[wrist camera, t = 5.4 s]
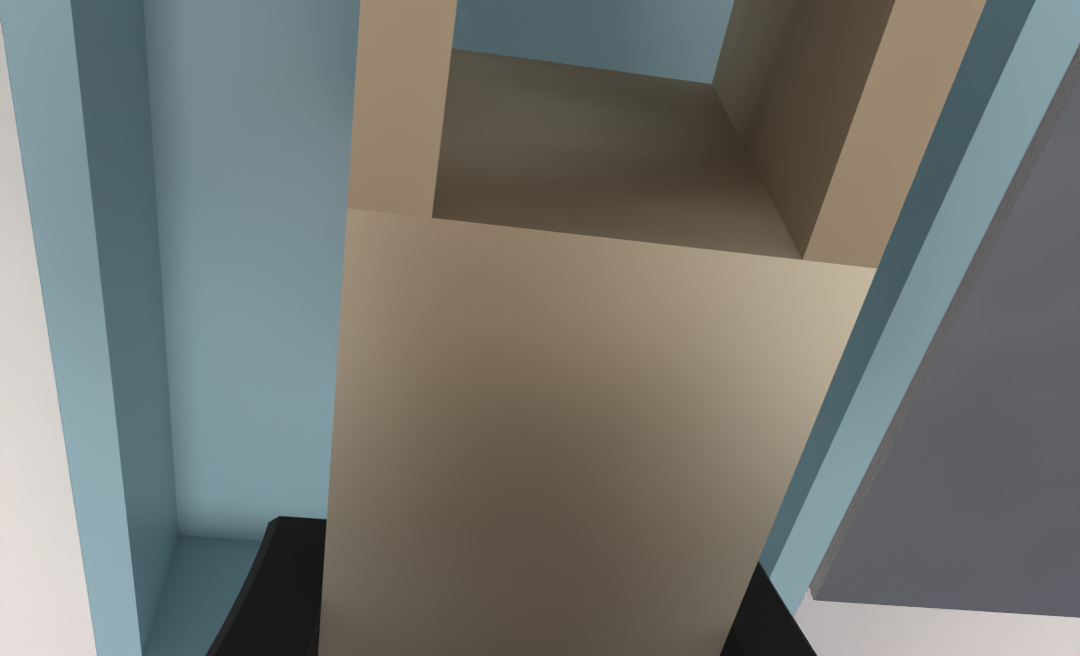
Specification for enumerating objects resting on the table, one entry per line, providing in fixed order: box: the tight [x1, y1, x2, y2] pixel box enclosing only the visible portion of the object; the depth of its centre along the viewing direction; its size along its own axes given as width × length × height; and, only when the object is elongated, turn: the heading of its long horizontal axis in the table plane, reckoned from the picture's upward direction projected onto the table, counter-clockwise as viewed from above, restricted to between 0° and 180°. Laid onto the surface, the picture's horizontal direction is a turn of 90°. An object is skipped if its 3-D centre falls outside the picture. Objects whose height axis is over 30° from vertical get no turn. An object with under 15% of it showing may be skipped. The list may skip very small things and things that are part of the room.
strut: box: [318, 0, 987, 656], centre depth 11 cm, size 4×13×4 cm, turn 170°
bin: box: [0, 0, 1080, 656], centre depth 16 cm, size 21×13×4 cm, turn 171°
